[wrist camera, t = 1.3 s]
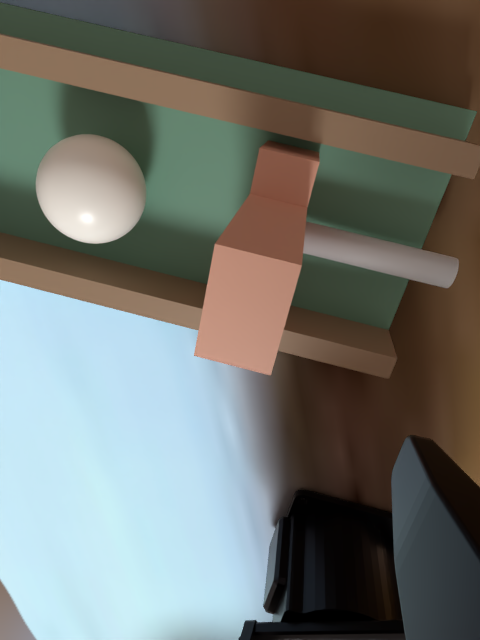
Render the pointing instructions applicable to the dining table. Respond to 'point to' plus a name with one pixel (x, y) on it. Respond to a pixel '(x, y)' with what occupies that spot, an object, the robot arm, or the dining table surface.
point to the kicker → (285, 261)
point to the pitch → (216, 174)
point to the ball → (91, 188)
